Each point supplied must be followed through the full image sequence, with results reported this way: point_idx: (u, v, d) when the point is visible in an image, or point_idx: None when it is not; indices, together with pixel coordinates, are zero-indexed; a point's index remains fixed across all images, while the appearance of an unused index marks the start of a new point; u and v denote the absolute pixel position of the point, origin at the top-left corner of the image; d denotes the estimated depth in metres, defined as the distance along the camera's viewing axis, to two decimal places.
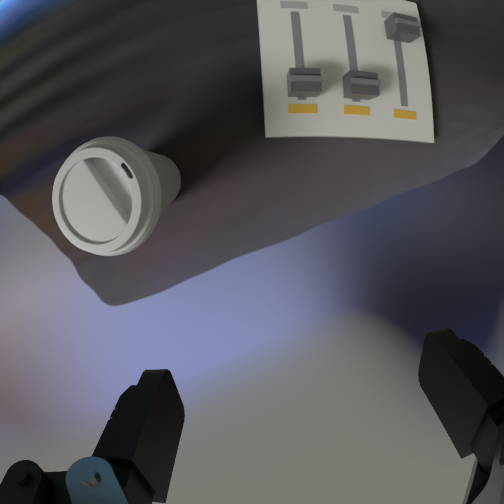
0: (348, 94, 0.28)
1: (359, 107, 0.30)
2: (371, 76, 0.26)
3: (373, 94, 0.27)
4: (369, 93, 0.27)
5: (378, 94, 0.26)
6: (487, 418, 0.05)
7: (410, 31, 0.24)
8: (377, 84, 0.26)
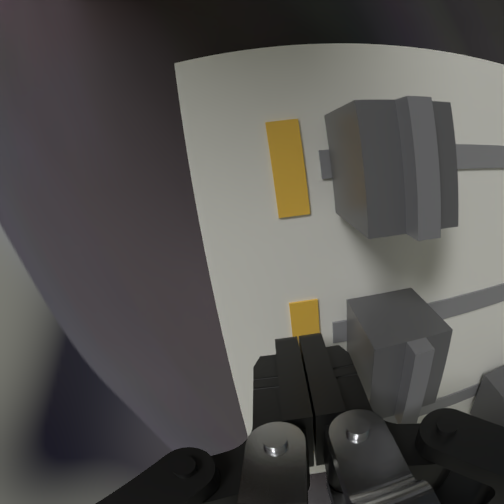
0: (364, 326, 0.09)
1: None
2: (426, 391, 0.08)
3: None
4: (374, 398, 0.08)
5: None
6: (325, 429, 0.06)
7: None
8: (403, 420, 0.08)
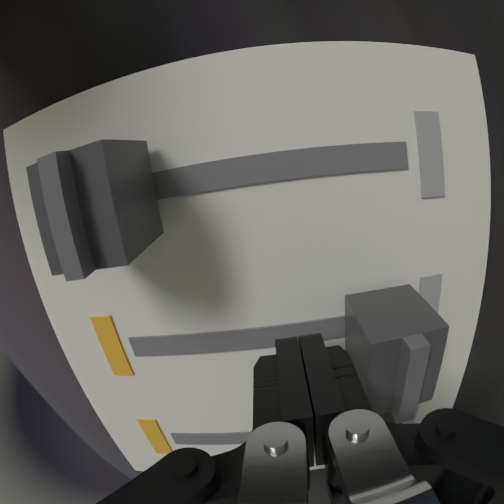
0: (361, 321, 0.09)
1: (121, 352, 0.12)
2: (423, 388, 0.08)
3: None
4: (370, 393, 0.08)
5: None
6: (325, 429, 0.06)
7: None
8: (399, 416, 0.08)
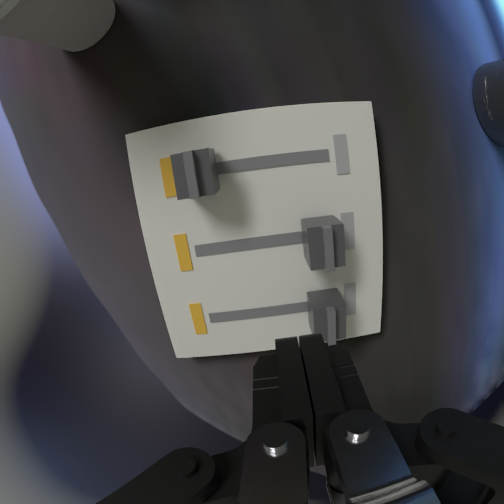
0: (305, 224, 0.22)
1: (188, 255, 0.25)
2: (338, 256, 0.21)
3: (311, 261, 0.21)
4: (311, 255, 0.21)
5: (312, 268, 0.21)
6: (325, 429, 0.06)
7: (318, 329, 0.23)
8: (326, 266, 0.21)
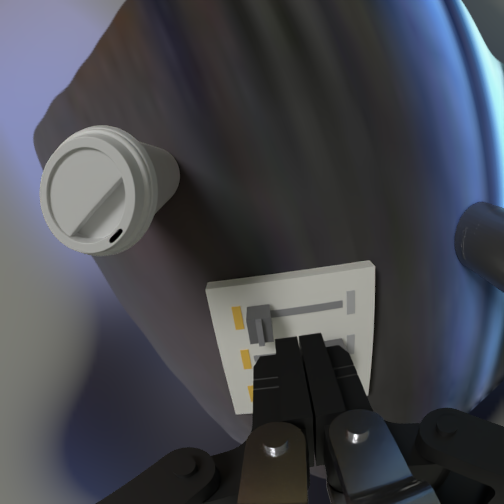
0: None
1: (249, 361, 0.37)
2: None
3: None
4: None
5: None
6: (325, 429, 0.06)
7: None
8: None
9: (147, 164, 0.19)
